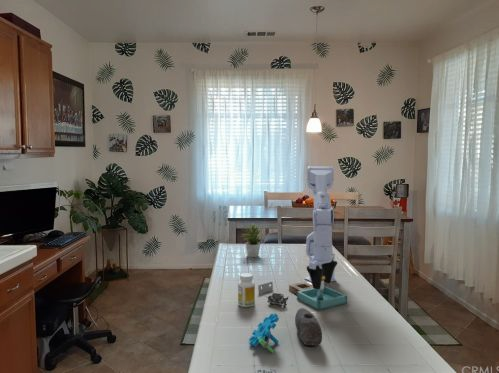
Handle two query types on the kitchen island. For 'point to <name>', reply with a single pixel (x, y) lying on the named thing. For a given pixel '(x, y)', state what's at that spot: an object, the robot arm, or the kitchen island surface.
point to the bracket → (268, 288)
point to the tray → (330, 300)
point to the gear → (265, 332)
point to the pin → (320, 290)
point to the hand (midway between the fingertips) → (321, 285)
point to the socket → (299, 287)
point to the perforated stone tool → (308, 327)
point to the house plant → (252, 241)
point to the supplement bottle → (246, 290)
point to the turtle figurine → (277, 300)
